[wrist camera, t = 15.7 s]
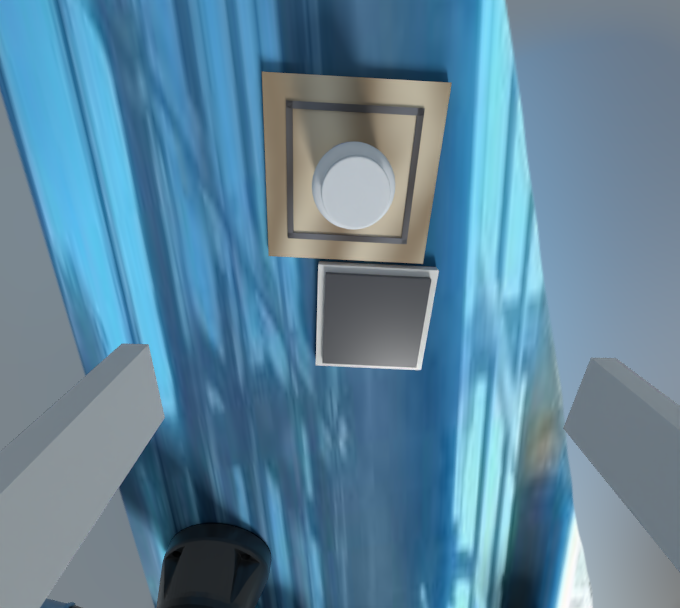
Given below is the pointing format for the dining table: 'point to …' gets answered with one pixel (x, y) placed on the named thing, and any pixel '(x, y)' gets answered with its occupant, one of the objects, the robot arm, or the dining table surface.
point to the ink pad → (373, 314)
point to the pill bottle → (353, 185)
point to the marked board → (347, 126)
